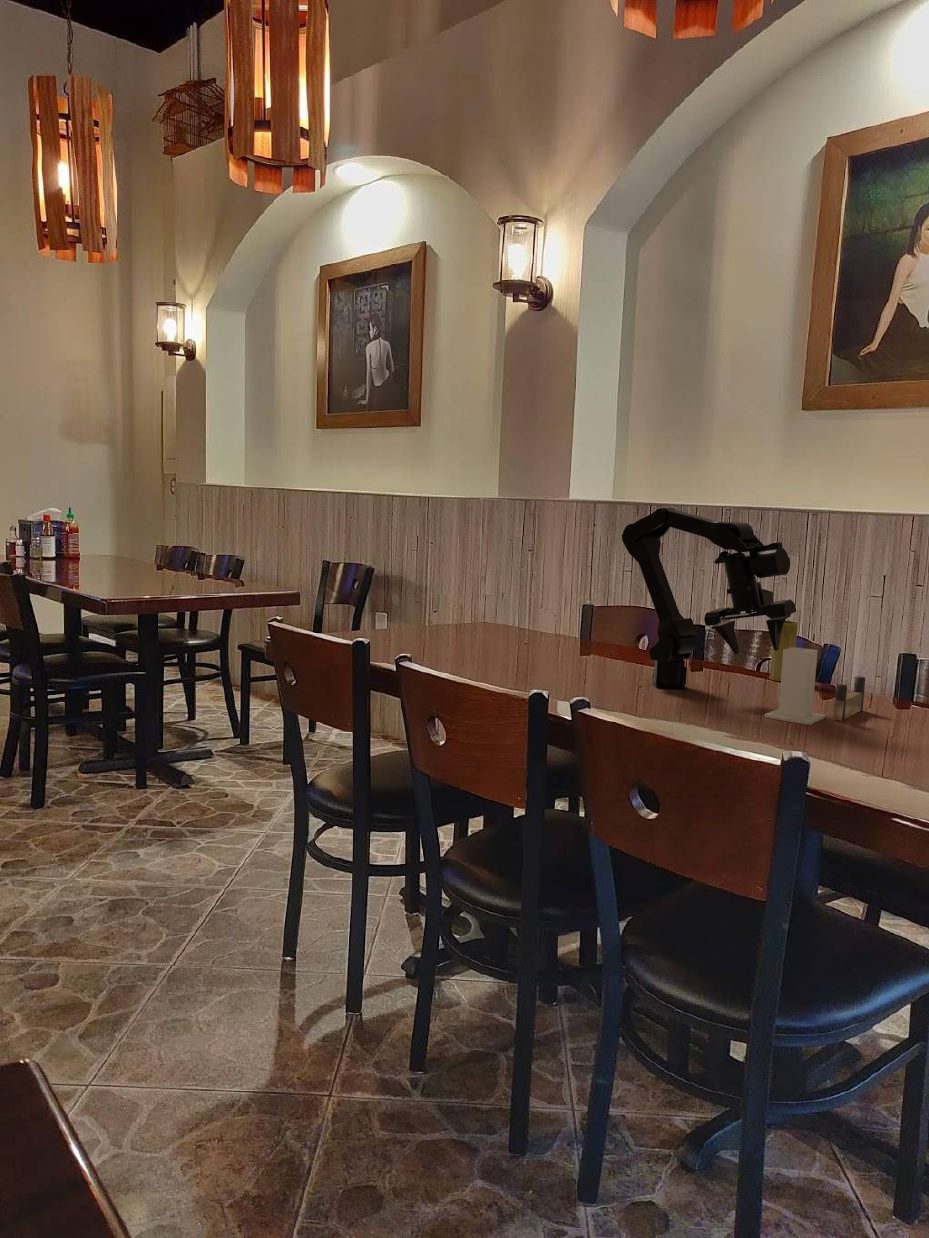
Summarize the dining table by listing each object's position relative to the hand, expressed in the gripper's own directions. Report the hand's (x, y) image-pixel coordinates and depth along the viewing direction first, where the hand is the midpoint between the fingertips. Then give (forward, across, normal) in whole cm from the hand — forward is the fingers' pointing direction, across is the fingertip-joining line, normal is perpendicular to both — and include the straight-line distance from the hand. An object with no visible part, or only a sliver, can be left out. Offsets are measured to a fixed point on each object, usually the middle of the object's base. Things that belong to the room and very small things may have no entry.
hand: (756, 652), depth 199 cm
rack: (+15, -17, -1) cm, 22 cm away
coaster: (+12, -11, +10) cm, 19 cm away
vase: (+13, +10, -28) cm, 32 cm away
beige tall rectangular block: (+11, -11, +10) cm, 19 cm away
